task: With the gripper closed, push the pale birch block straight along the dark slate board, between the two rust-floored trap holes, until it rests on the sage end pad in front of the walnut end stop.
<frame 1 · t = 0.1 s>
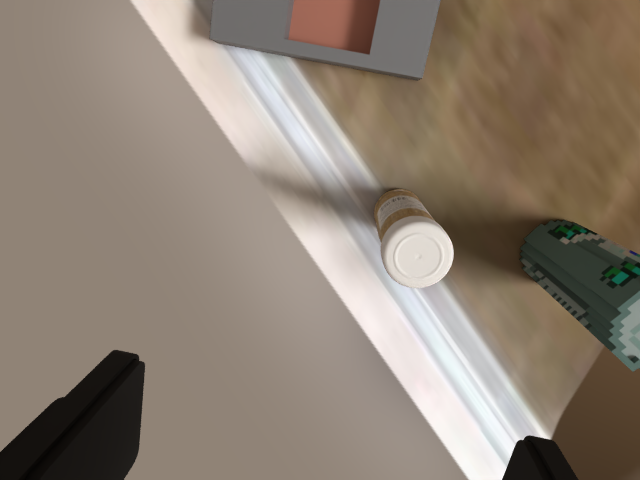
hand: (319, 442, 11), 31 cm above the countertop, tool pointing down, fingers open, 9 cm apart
can: (553, 252, 40), on the countertop
sprinkles bottle: (398, 211, 41), on the countertop
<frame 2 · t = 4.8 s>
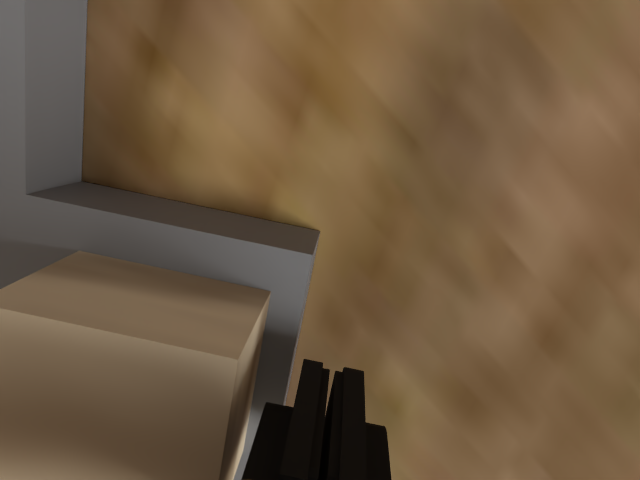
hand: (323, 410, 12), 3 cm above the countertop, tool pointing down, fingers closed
birch block: (165, 355, 13), point 3 cm above the countertop, touching gripper
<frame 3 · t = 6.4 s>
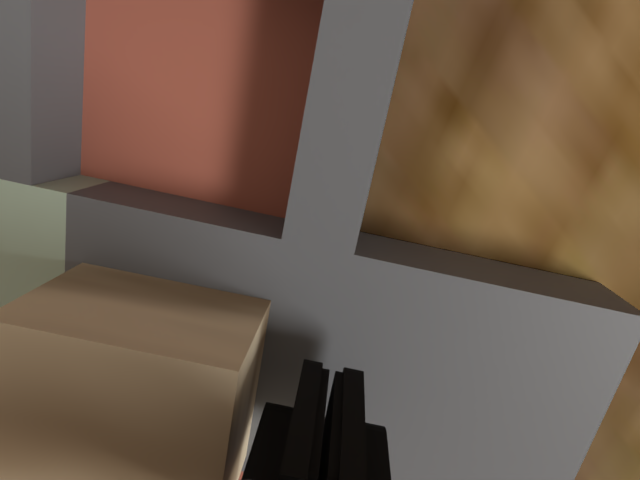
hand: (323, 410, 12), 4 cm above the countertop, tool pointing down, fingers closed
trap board: (232, 316, 15), on the countertop
birch block: (168, 364, 13), point 3 cm above the countertop, touching gripper
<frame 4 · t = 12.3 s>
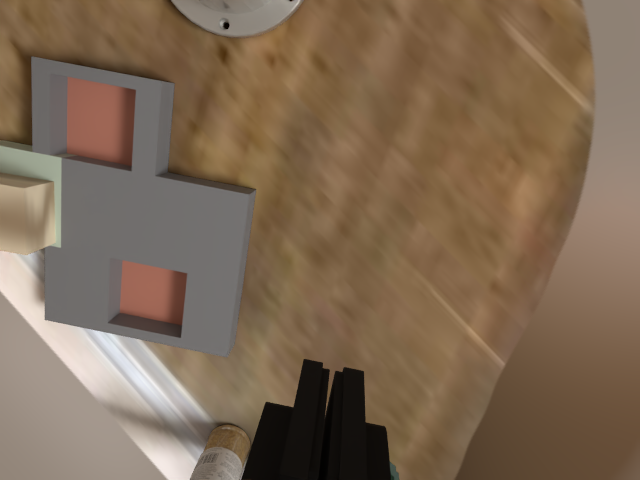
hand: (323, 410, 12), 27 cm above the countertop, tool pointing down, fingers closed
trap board: (126, 208, 39), on the countertop
birch block: (24, 207, 37), point 2 cm above the countertop, touching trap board
can: (368, 475, 46), on the countertop
sprinkles bottle: (231, 439, 46), on the countertop
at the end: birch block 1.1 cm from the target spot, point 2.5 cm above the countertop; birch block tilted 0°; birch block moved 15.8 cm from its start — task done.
